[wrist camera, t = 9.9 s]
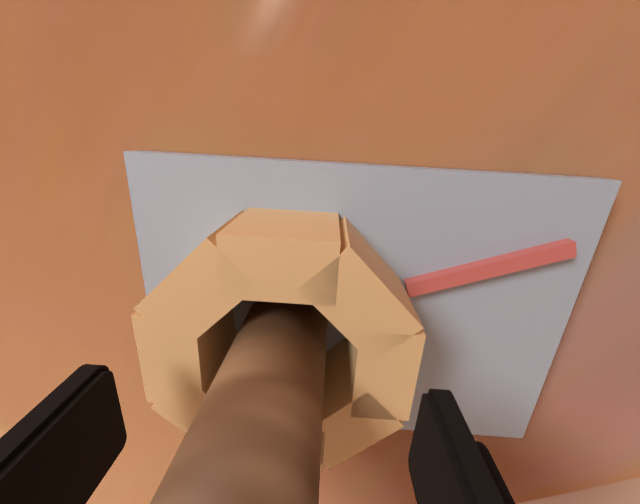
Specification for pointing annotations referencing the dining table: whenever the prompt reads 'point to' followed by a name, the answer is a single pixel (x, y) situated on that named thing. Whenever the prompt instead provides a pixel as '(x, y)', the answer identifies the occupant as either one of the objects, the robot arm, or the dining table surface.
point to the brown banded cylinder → (258, 416)
